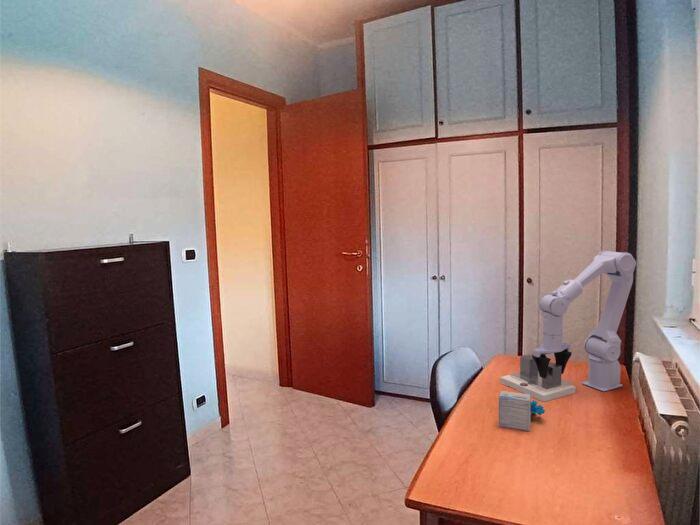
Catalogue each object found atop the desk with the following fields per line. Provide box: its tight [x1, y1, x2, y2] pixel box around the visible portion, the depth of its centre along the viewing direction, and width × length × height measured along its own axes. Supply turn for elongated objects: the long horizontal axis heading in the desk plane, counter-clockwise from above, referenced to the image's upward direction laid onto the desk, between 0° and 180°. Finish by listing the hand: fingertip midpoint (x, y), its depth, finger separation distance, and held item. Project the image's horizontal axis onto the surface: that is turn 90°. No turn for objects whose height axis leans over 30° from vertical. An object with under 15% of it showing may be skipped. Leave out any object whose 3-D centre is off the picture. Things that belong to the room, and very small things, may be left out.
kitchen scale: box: [499, 371, 576, 403], centre depth 149 cm, size 14×18×3 cm
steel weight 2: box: [542, 361, 562, 386], centre depth 145 cm, size 4×4×6 cm
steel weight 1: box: [519, 354, 538, 377], centre depth 153 cm, size 4×4×6 cm
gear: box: [531, 399, 546, 416], centre depth 128 cm, size 11×6×10 cm
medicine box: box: [498, 390, 532, 432], centre depth 123 cm, size 8×4×9 cm, turn 65°
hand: (551, 375), depth 145 cm, fingers open, 7 cm apart
